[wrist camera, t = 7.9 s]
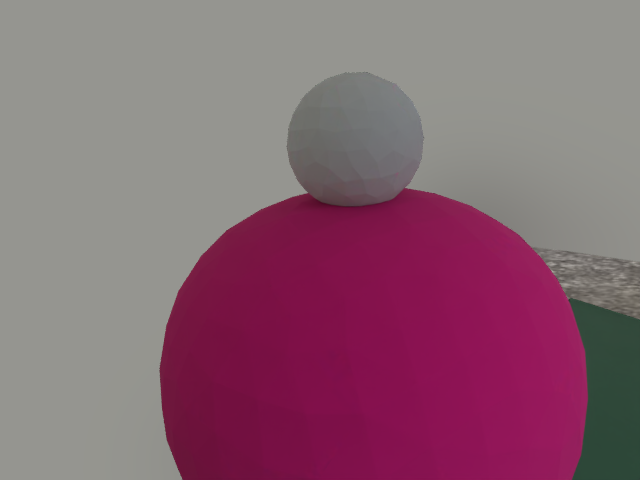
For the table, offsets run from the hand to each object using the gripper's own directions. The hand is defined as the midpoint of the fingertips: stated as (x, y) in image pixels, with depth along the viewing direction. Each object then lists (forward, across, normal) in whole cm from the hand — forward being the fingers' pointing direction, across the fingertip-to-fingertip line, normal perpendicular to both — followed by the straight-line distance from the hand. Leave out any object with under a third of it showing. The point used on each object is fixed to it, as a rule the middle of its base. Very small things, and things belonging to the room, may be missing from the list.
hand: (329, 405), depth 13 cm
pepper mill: (-5, 0, -11) cm, 12 cm away
